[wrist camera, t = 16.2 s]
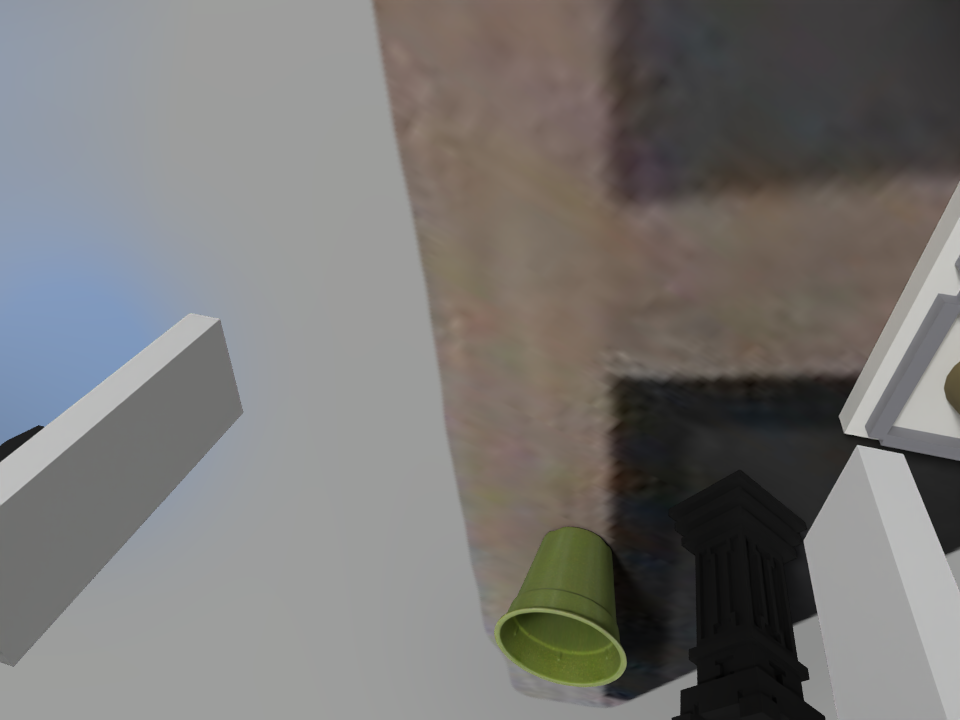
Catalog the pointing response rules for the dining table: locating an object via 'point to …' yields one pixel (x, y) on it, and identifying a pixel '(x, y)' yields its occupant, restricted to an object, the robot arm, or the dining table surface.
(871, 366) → the pin board
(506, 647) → the plant pot
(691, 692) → the chess piece
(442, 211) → the dining table surface
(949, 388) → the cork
